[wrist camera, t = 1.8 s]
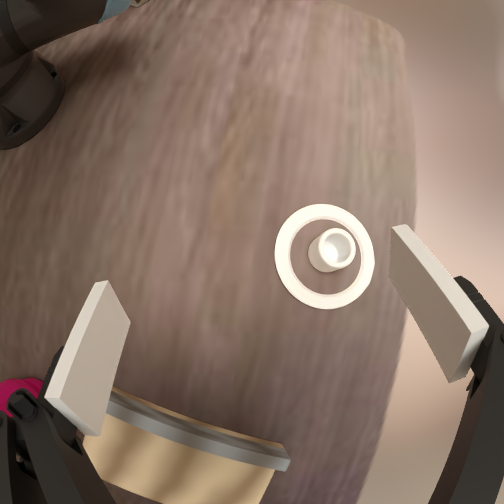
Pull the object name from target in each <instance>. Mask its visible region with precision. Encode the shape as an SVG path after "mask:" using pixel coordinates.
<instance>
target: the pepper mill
mask: <svg viewBox="0 0 504 504" xmlns="http://www.w3.org/2000/svg"><path fill="white" fill-rule="evenodd" d="M42 384H43V382H42V381H40V380H38V379H36V378H26V379H23V380H19V379H8V380H5V381H3V382H1V383H0V411H4V412H5V413H6V414H7V415H8V416H10V417H13V415H12V414H11V413H10V412H9V411H8V410H7V409H6V403H7V400H8V398H9V397H10V395H11V394H12V393H13V392H14V391H15V390H17V389H19V388H25V389H27V390H28V391H29V392H30V393H31V394H32V395H33V396H34V397H35V398H36V399H37V397H38V395H39V392H40V389H41V387H42Z"/></svg>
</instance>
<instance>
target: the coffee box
mask: <svg viewBox="0 0 504 504" xmlns="http://www.w3.org/2000/svg"><path fill="white" fill-rule="evenodd" d="M147 1H148V0H132V1H131V4H130V5H131V6H134V7H139V6H141V5H142V4H144V3H145V2H147Z"/></svg>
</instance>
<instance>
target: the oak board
mask: <svg viewBox="0 0 504 504" xmlns="http://www.w3.org/2000/svg"><path fill="white" fill-rule="evenodd" d="M83 447H84V449H85V450H86V452H87V454H88V456H89V458H90V460H91V462H92V464H93V466H94V467H95V469H96V471H97V473H98V475H99V476H100V478H101V479H103V480H105V481H107V482H109V483H111V484H114V485H116V486H118V487H121V488H123V489H126V490H128V491H130V492H133V493H136V494H138V495H141V496H143V497H146V498H149V499H152V500H154V501H157V502H160V503H163V504H259V502H260V500H261V498H262V496H263V494H264V492H265V490H266V488H267V486H268V484H269V482H270V480H271V478H272V476H273V473H274V471H275V470H280V471H285V472H286V469H287V467H288V465H289V463H290V461H291V459H290V458H289V456H288V454H287V452H286V450H285V449H284V447H283V445H282V444H280V443H276V442H271V441H267V440H263V439H259V438H255V437H252V436H248V435H244V434H241V433H237V432H234V431H230V430H227V429H223V428H220V427H217V426H214V425H211V424H208V423H204V422H201V421H198V420H196V419H193V418H190V417H187V416H184V415H181V414H179V413H176V412H173V411H171V410H168V409H165V408H163V407H160V406H158V405H155V404H153V403H150V402H148V401H145V400H143V399H141V398H138V397H136V396H134V395H131V394H129V393H127V392H125V391H122V390H120V389H118V388H116V387H114V386H112V389H111V393H110V397H109V401H108V405H107V409H106V414H105V418H104V422H103V426H102V431H101V435H100V436H88V435H85V437H84V441H83Z"/></svg>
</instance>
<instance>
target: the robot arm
mask: <svg viewBox="0 0 504 504" xmlns="http://www.w3.org/2000/svg"><path fill="white" fill-rule="evenodd" d="M131 1H132V0H0V149H9V148H13V147H16V146H18V145H20V144H22V143H24V142H25V141H27V140H28V139H30V138H31V137H33V136H34V135H35V134H36V133H37V132H39V131H40V130H41V129H42V128H43V127H44V126H45V124H46V123H47V122H48V121H49V120H50V118H51V117H52V116H53V114H54V113H55V111H56V110H57V108H58V106H59V104H60V102H61V99H62V97H63V93H64V80H63V77H62V75H61V74H60V72H59V70H58V68H57V67H56V66H55V65H54V64H53V63H51V62H50V61H49V60H47V59H46V58H44V57H43V56H42V55H40V54H39V53H37V52H36V51H34V49H36V48H38V47H40V46H42V45H45V44H47V43H49V42H51V41H54V40H56V39H58V38H61V37H63V36H65V35H68V34H70V33H73V32H75V31H78V30H80V29H83V28H86V27H89V26H91V25H94V24H98V23H101V22H102V21H103V20H106V19H108V18H111V17H113V16H116V15H119V14H121V13H123V12H124V11H125V10H127V9H128V7H129V6H130V4H131ZM389 278H390V279H391V281H392V283H393V284H394V286H395V287H396V289H397V291H398V292H399V294H400V296H401V297H402V299H403V301H404V302H405V304H406V306H407V307H408V309H409V311H410V312H411V314H412V316H413V317H414V319H415V321H416V322H417V324H418V326H419V328H420V330H421V331H422V333H423V335H424V337H425V339H426V340H427V342H428V344H429V346H430V348H431V350H432V351H433V353H434V355H435V357H436V359H437V361H438V363H439V364H440V366H441V368H442V370H443V372H444V374H445V376H446V378H447V380H448V382H449V383H451V382H454V381H457V380H459V379H461V378H464V377H466V375H467V373H468V371H469V369H470V367H471V369H472V371H473V372H474V376H473V378H472V380H471V381H470V383H469V385H468V387H467V389H466V391H468V390H469V389H470V390H469V393H468V397H467V401H466V405H465V408H464V412H463V415H462V418H461V422H460V425H459V428H458V431H457V434H456V437H455V440H454V443H453V446H452V449H451V451H450V454H449V457H448V459H447V462H446V464H445V467H444V469H443V472H442V474H441V476H440V479H439V481H438V483H437V485H436V488H435V490H434V492H433V494H432V496H431V499H430V501H429V503H428V504H495V501H496V498H497V495H498V492H499V489H500V486H501V483H502V480H503V476H504V324H503V323H502V321H501V320H500V318H498V316H497V314H496V313H495V312H494V311H493V309H492V308H491V307H490V305H489V304H488V303H487V302H486V300H484V298H483V296H482V295H481V294H480V293H478V290H477V289H476V288H475V287H474V285H473V284H472V283H471V282H470V281H468V280H467V279H465V278H463V277H462V276H458V277H455V278H452V276H451V275H450V274H449V273H448V272H447V270H446V269H445V268H444V267H443V265H442V264H441V263H440V262H439V261H438V259H437V258H436V257H435V256H434V255H433V254H432V252H431V251H430V250H429V249H428V248H427V247H426V246H425V245H424V243H423V242H422V241H421V240H420V239H419V238H418V237H417V235H416V234H415V233H414V232H413V231H412V230H411V229H410V228H409V227H408V226H407V225H406V224H405V225H400V226H394V227H391V248H390V263H389ZM130 323H131V322H130V320H129V318H128V317H127V315H126V313H125V311H124V309H123V307H122V306H121V304H120V302H119V300H118V298H117V296H116V294H115V293H114V291H113V289H112V287H111V285H110V283H109V281H108V280H107V281H102V282H96V283H95V284H94V286H93V288H92V290H91V292H90V294H89V296H88V298H87V300H86V302H85V304H84V306H83V308H82V310H81V312H80V314H79V316H78V318H77V321H76V323H75V325H74V327H73V329H72V331H71V334H70V336H69V338H68V340H67V343H66V345H65V346H62V347H61V348H60V349H59V350H58V352H57V353H56V354H55V356H54V358H53V360H52V363H51V367H49V370H48V372H47V373H48V374H46V377H45V379H44V382H43V384H42V387H41V389H40V392H39V395H38V397H37V399H36V398H35V397H34V396H33V395H32V394H31V393H30V392H29V391H28V390H27V389H25V388H19V389H17V390H15V391H14V392H13V393H12V394H11V395H10V397H9V398H8V400H7V403H6V409H7V410H8V411H9V412H10V413H11V414H12V415H13V417H10V416H8V415H7V414H6V413H5V412H4V411H0V504H116V503H115V501H114V499H113V498H112V496H111V495H110V493H109V491H108V490H107V488H106V487H105V485H104V483H103V481H102V480H101V478H100V476H99V475H98V473H97V471H96V469H95V467H94V466H93V464H92V462H91V460H90V458H89V456H88V454H87V452H86V450H85V449H84V447H83V445H82V443H81V441H80V439H79V438H78V436H77V435H76V431H77V429H79V430H80V431H81V432H82V433H83V434H84V435H88V436H100V435H101V431H102V426H103V422H104V418H105V414H106V409H107V405H108V401H109V397H110V393H111V389H112V386H113V382H114V378H115V374H116V371H117V367H118V364H119V360H120V357H121V353H122V350H123V346H124V343H125V339H126V336H127V333H128V330H129V326H130ZM16 455H17V456H19V457H20V462H18V461H16Z"/></svg>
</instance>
